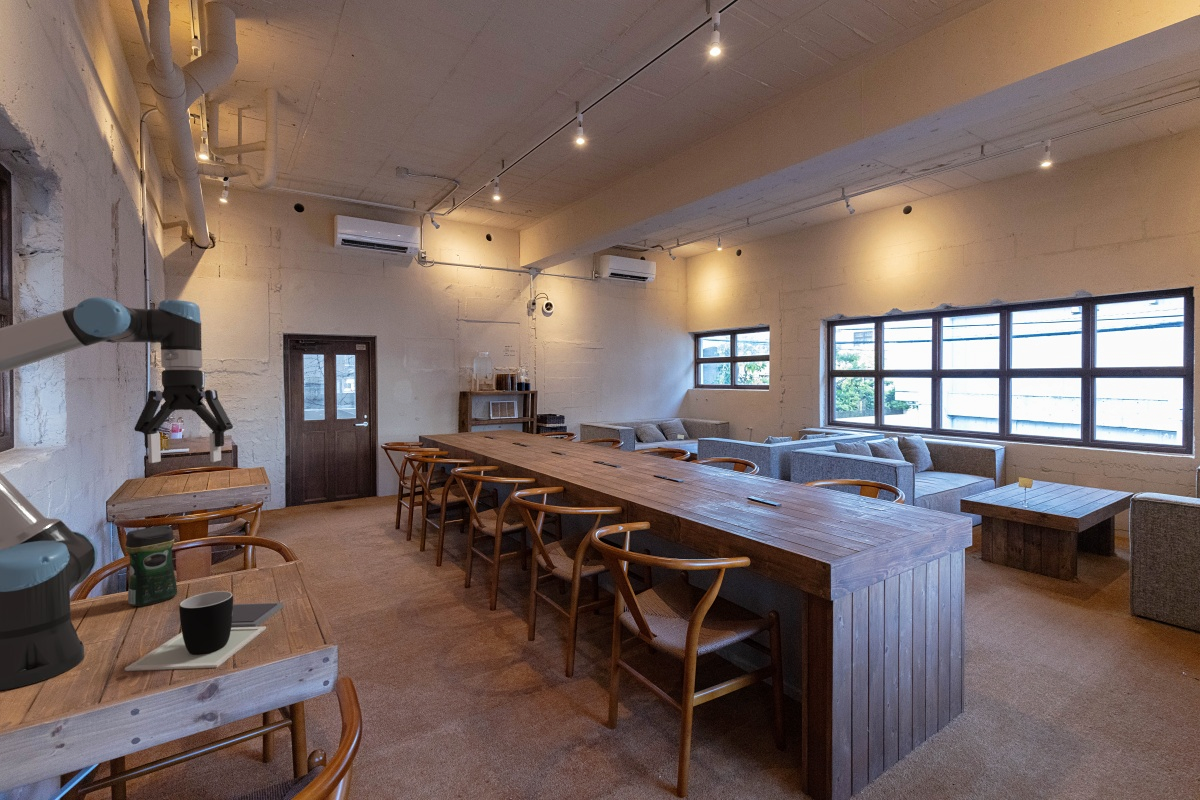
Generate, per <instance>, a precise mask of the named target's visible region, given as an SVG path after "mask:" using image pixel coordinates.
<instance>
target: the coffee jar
mask: <svg viewBox="0 0 1200 800" xmlns="http://www.w3.org/2000/svg"><path fill="white" fill-rule="evenodd" d="M125 538H126V542H125V546H124V547H125V550H126V552H127V554H128V556H129V580H128V591H127V594H128V595H127V601H128V604H129V605H130V606H132V607H144V606H149V605H153V604H156V603H161V602H164V601H167V600H170V599H172V598H174V597H176V595H178V585H177V580H176V575H175V570H174V569H175V568H174V562H173V554H172V552H173V546H174V545H175V536H174V531H173V529H172V527H171V526H169V525H165V524H163V525H157V526H156V525H155V526H152V527H145V528H139V529H135V530H130V531H128V532H127V533H126V537H125Z"/></svg>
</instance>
